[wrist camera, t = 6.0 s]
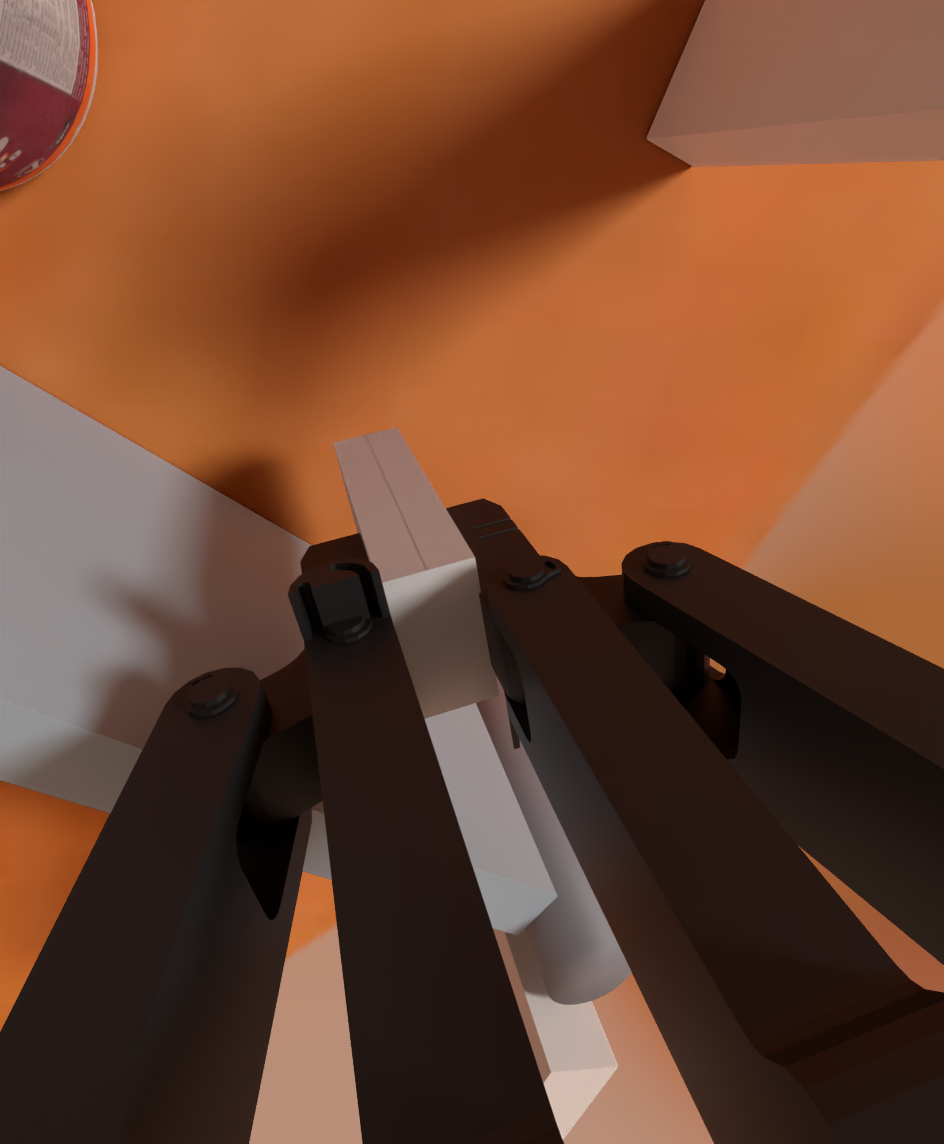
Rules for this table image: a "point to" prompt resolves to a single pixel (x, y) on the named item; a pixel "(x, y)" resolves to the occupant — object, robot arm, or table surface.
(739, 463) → the table surface
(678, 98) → the wall frame
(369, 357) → the table surface
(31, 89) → the pill bottle
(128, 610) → the door
